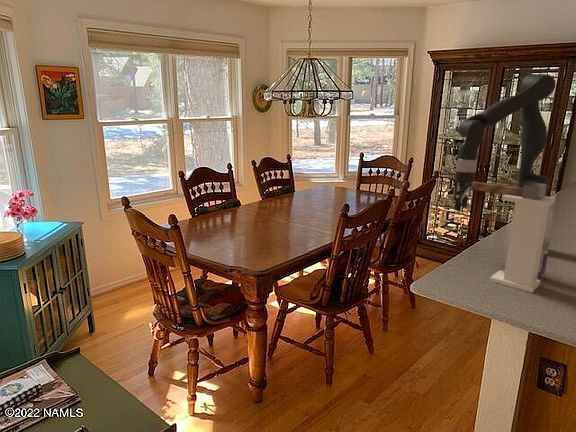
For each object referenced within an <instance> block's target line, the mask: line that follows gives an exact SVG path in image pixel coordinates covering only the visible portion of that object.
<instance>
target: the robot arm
mask: <svg viewBox="0 0 576 432" xmlns="http://www.w3.org/2000/svg"><path fill="white" fill-rule="evenodd" d="M556 85H557V84H556V79H555V78H554V77H553V76H551V75H550V74H543V73H530V74H528V75H526V76H525V77H523V79H522V81H521V83H520V90H519V91H520V92H519V93H517V94H515V95H512V96H510V97H509V96H508V97H507V98H504V99H501V100H499V101H497V102H495V103H494V104H492V105H490V106H488V107H487V108H485V109H484V110H482V111H481V112H479V113H475V114H474V115H471V116H469V117H467V118H466V119H463V121H462V122H461V123H460V124H459V126H458V128H457V131H458V134H459V135H460V136H461V137H463V138H465V141H464V143H462V144H461V145H460V146H459V148H458V153H457V154H458V156H457V162H456V167H455V175H454V181H455V182H456V183H458V185H455V187H454V194H453V201H454V202H455V204H454V211H456V212H457V211H458V212H460V211H461V209H462V208H467V207H468V201H469V198H470V197H471V196H472V195H471V193H472V182H475V180H476V179H475V178H476V170H477V160H478V159H477V158H478V150H479V148H480V145H481V143H482V141H483V137H484V133H485V128H490V127H493V126H495V125H496V124H498V123H499V122H501V121H503V120H504V119H505V118H507V117H509V116H510V115H512V114H514V113H516V112H518V111H520V110H521V135H520V136H521V137H520V138H521V139H520V144H521V146H520V147H521V148H520V149H521V150H520V165H519V173H518V183H517V187H519V188H523V187H524V185H525V184H528V183H530V182H533V183H542V184H547V186H546V192H545V197H548V191H549V187H550V179H549V178H548V176H545V175H540V174H538V175H537V174H533V173H532V170H533V165H534V163H535V161H536V160H537V159H538V158H539V156H540V155H541V154H542V153H543V151H544V149H545V148H546V146H547V139H548V138H547V137H548V135H547V134H548V128H547V125H546V122H545V120H544V118H543V116H542V113H541V110H540V101H542V100H544V99H546V98H548V97H550V96H551V95H552V94H553V92H555V89H556Z"/></svg>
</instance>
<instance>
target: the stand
mask: <svg viewBox="0 0 576 432" xmlns="http://www.w3.org/2000/svg"><path fill="white" fill-rule="evenodd" d="M501 201H504V202H505V201H506V202H511V203H514V208H513V213H512V220H511V228H510V233H509V234H510V235H509V238H508V239H509V241H508V247H507V254H506V259H505V266H504V267H505V268H504V270H501V269H499V270H498V271H497V272H495V273H494V274H493V275H491V276H490V278H489V279H490V280H489V282H493V283H495V284H499V285H502V286H506V287H509V288H512V289H513V288H514V289H516V290H520V291H521V290H522V291H525V292H528V293H533V292H534V291H535V290H536V289H537V288H538V287H539V286H540V285H541V281H542V280H538V279H537V274H538V269H539V263H540V257H541V252H542V246H543V240H544V238H545V233H546V228H547V222H548V216H549V210H550V206H551V205H553V204H554V203H555V201H556V197H550V196H546V197H544V198H542V199H540V200H538V201H537V200H530V199H524V198H522V197H521V196H514V195H507V194H502V196H501Z"/></svg>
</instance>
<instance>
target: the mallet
mask: <svg viewBox="0 0 576 432" xmlns="http://www.w3.org/2000/svg"><path fill="white" fill-rule="evenodd" d="M546 186H547V184H542V183H533V182H530V183H528V184H525V185H524V187H523V188H519V187H518V186H509V185H503V184H496V183H488V182H480V181H474V182H472V186H471V191H473V190H474V191H481V192H487V193H493V194H501V195H505V194H507V195H514V196H521V197H522V198H524V199H530V200H537V201H538V200H540V199H542V198H544V197H545V192H546Z"/></svg>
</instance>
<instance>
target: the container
mask: <svg viewBox="0 0 576 432" xmlns="http://www.w3.org/2000/svg"><path fill="white" fill-rule="evenodd" d="M550 243H551V239H550V238H547V237H544V240H543V246H542V252H541V257H540V263H539V269H538V274H537V280H541V281H542V280H544V279H545V274H546V268H547V267H546V266H547V263H548V262H547V261H548V256H549V251H550V250H549V249H550Z"/></svg>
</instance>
